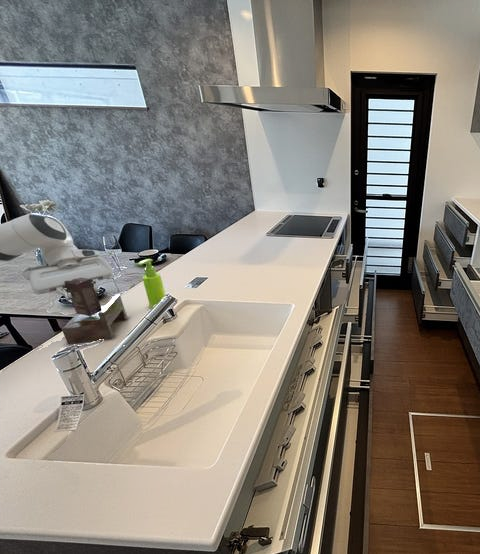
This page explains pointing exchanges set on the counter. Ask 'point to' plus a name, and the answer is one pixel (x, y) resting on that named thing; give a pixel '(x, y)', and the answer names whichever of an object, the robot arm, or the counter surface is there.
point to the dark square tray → (95, 323)
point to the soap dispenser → (152, 283)
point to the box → (83, 296)
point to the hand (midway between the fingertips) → (83, 295)
